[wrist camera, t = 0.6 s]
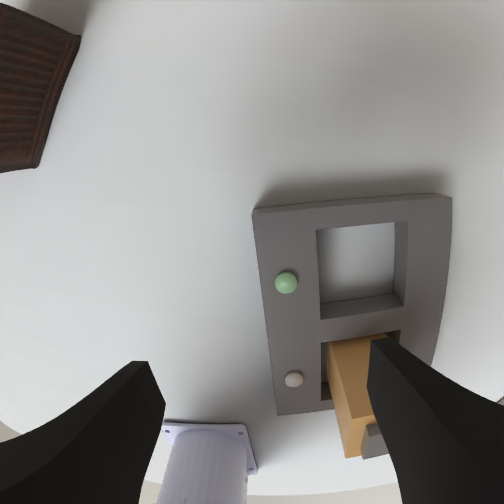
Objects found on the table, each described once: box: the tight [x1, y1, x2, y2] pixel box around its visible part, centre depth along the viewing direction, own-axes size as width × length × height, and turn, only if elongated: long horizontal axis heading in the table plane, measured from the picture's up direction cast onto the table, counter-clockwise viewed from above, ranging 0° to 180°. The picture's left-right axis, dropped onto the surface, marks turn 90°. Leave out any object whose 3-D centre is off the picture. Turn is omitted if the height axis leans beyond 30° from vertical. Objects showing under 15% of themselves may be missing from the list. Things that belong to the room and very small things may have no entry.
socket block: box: [252, 193, 452, 415], centre depth 18 cm, size 15×12×2 cm
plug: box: [327, 332, 389, 460], centre depth 16 cm, size 4×4×9 cm
